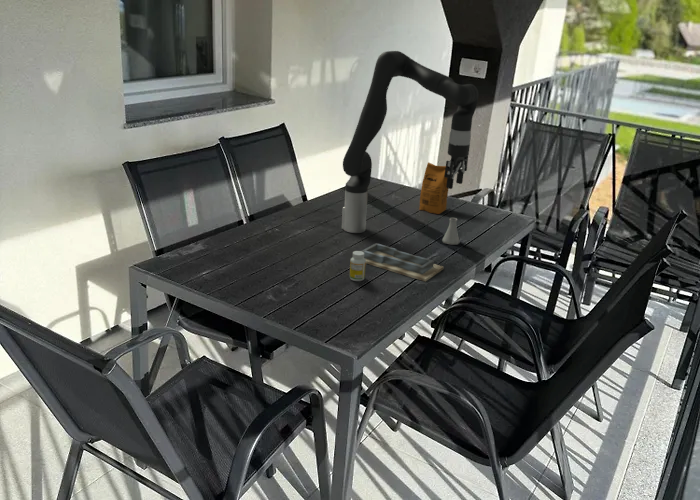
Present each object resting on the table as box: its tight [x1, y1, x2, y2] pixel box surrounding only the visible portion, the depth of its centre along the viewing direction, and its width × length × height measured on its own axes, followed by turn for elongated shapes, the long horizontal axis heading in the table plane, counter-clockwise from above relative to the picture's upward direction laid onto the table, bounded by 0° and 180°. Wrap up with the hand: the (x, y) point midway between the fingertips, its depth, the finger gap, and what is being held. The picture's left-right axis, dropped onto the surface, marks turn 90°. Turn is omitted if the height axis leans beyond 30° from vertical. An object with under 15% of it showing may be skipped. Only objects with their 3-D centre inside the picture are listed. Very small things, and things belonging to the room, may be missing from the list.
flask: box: [441, 217, 461, 246], centre depth 253 cm, size 7×7×10 cm
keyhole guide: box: [361, 242, 444, 282], centre depth 231 cm, size 30×14×4 cm, turn 56°
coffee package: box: [418, 162, 449, 215], centre depth 289 cm, size 10×12×22 cm
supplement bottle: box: [349, 250, 367, 282], centre depth 217 cm, size 5×5×10 cm
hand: (454, 185), depth 229 cm, fingers open, 8 cm apart
